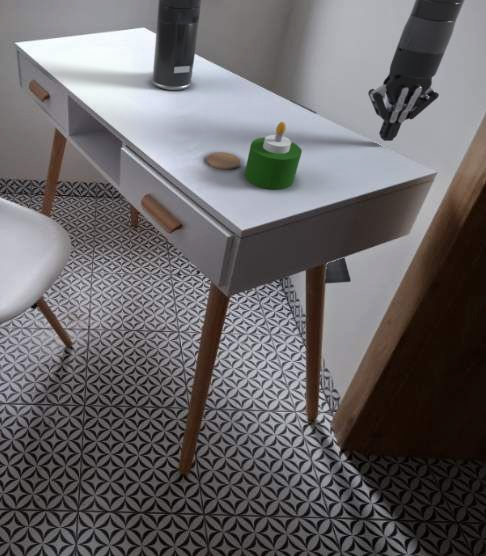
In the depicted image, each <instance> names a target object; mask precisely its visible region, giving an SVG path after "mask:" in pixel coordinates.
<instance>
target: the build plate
mask: <svg viewBox="0 0 486 556" xmlns="http://www.w3.org/2000/svg"><path fill="white" fill-rule="evenodd" d="M326 267H327V269H326V279H325V284H339V283H350V282H351V276H350V272H349V269H348V265H347V262H346V258H345V257H344V258H342V259H339V260H336V261H334V262H330V263H328V264H327V266H326Z"/></svg>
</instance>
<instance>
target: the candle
mask: <svg viewBox="0 0 486 556" xmlns="http://www.w3.org/2000/svg"><path fill="white" fill-rule="evenodd" d="M286 129H287V126H286V123H285V122H284V121H280V122H279V123H278V124H277V126H276V128H275V134H270V135H266V136H265V137H258V138H256V139H254V140H252V141H251V143H250V147H249V152H248V157H247V161H246V165H245V169H244V170H245V171H244V178H245V180H247V182H249V183H250V184H252V185H254V186H256V187H258V188H262V189H265V190H274V191H275V190H276V191H277V190H284V189H288V188H290V187H292V186H293V184H294V181H295V177H296V174H297V170H298V167H299V163H300V160H301V157H302V148H301V147H300V146H299V145H298V144H296V143H295V142H293V141H292V140H291V139H289V138H288V137H286V136H284V134H285V132H286Z"/></svg>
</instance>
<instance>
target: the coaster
mask: <svg viewBox="0 0 486 556" xmlns="http://www.w3.org/2000/svg"><path fill="white" fill-rule="evenodd" d="M206 162H207V164H208V165H209V166H211V167H213V168H216V169H219V170H234V169H237V168H238V167H240V166H241V159H240V158H239V157H238V156H237V155H235V154H233V153H229V152H225V151H216V152H212V153H210V154H208V155H207V156H206Z"/></svg>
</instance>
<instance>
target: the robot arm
mask: <svg viewBox="0 0 486 556" xmlns="http://www.w3.org/2000/svg"><path fill="white" fill-rule="evenodd" d="M465 1H466V0H415V1H414V4H413V7H412V9H411V12H410V15H409V17H408V19H407V20H406V23H405V25H404V27H403V30H402V32H401V35H400V38H399V41H398V43H397V46H396V49H395V52H394V55H393V57H392V60H391V63H390V66H389V73H388V74H387V76H386V78H384V80H383V83H382V85H380V86H379V87H377V88H376V89H374V88H371V89H369V90H368V93H367V94H368V96H369V97H368V98H369V99H370V103H371V104H372V107H373V109H374V112H375V115H377V116H378V117H380V118H381V119H382V120H383V121H382V124H381V127H380V129H379V132H378V133H379V136H380V139H382V141H384V142H392V141H394V139H395V138H396V137H398V133H399V131H400V129H401V126H402V124H403V123H404V122H405V121H407V120H413V119H415V118H417V117H418V115H420V114H421V113H422V112H423V111H424V110H425V109H426V108H428V107H429V106H430V105H431V104H433V102H435V101H436V100H437V99H438V98H439V96H440V93H438V92H437V91H435V90H434V89H433V88H432V85H433V77H435V76H436V74H437V72H438V69H439V67H440V64H441V62H442V60H443V58H444V55H445V52H446V51H447V48H448V46H449V44H450V41H451V38H452V36H453V33H454V28H455V26H456V23H457V19H458V18H459V15H460V13H461V11H462V7H463V5H464V3H465ZM201 5H202V0H158V4H157V16H156V17H157V18H156V19H157V20H156V29H155V31H156V32H155V41H154V42H155V44H154V46H155V47H154V55H153V56H154V57H153V66H152V67H153V68H152V69H153V70H152V77H151V83H152V85H153V86H155V87H156V88H159V89H163V90H168V91H184V90H186V89H189V88H190V87H191V86H192V78H193V72H194V71H193V70H194V64H195V63H194V61H195V54H196V47H197V38H198V30H199V22H200V14H201V7H202V6H201ZM385 99H386V101H384V100H385Z"/></svg>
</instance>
